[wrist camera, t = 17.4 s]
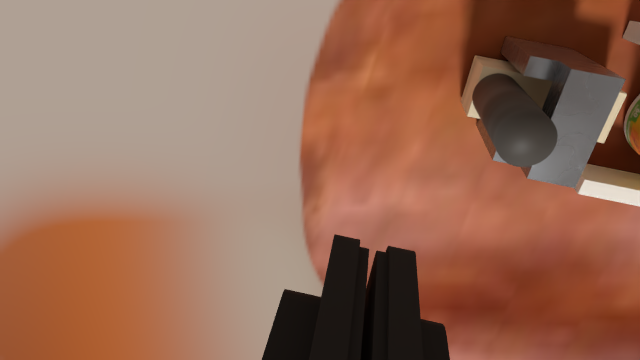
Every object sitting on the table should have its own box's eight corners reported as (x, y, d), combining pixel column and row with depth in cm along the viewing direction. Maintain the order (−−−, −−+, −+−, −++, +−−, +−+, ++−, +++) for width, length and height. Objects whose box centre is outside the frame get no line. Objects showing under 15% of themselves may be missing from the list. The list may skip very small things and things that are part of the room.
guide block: (572, 48, 29) (625, 79, 22) (536, 137, 31) (575, 188, 25) (505, 36, 29) (539, 62, 22) (476, 125, 32) (498, 172, 25)
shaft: (605, 80, 29) (699, 139, 20) (585, 125, 30) (665, 200, 22) (473, 54, 29) (508, 102, 21) (459, 101, 31) (486, 164, 22)
